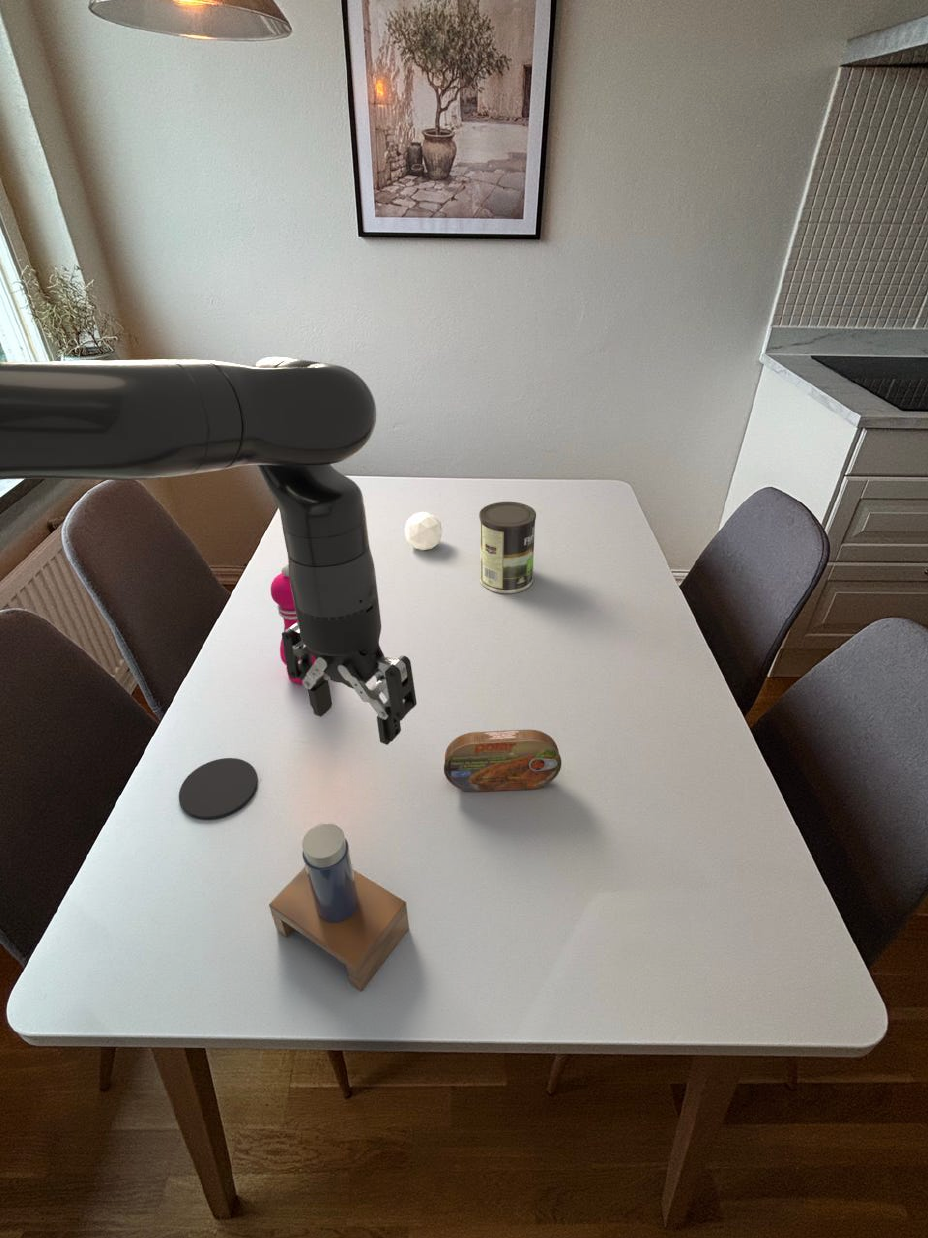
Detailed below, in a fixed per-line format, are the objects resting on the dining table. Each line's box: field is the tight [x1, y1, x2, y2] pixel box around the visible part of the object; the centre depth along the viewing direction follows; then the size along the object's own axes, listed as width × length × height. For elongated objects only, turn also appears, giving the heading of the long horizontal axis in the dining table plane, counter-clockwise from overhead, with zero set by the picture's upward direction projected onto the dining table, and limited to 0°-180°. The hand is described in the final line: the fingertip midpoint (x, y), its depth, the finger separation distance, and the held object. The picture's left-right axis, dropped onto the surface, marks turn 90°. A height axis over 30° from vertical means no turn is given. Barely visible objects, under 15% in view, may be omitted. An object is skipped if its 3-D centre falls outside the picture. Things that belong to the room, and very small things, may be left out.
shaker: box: [301, 822, 358, 923], centre depth 68 cm, size 4×4×10 cm
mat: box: [178, 757, 259, 821], centre depth 90 cm, size 10×10×1 cm
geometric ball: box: [404, 511, 443, 551], centre depth 140 cm, size 8×8×8 cm
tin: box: [443, 729, 562, 793], centre depth 88 cm, size 15×3×8 cm, turn 92°
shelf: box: [268, 866, 410, 992], centre depth 72 cm, size 8×12×5 cm, turn 57°
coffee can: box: [478, 501, 537, 594], centre depth 127 cm, size 10×10×14 cm
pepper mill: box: [270, 564, 316, 685], centre depth 104 cm, size 7×7×20 cm
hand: (355, 725), depth 70 cm, fingers open, 8 cm apart
